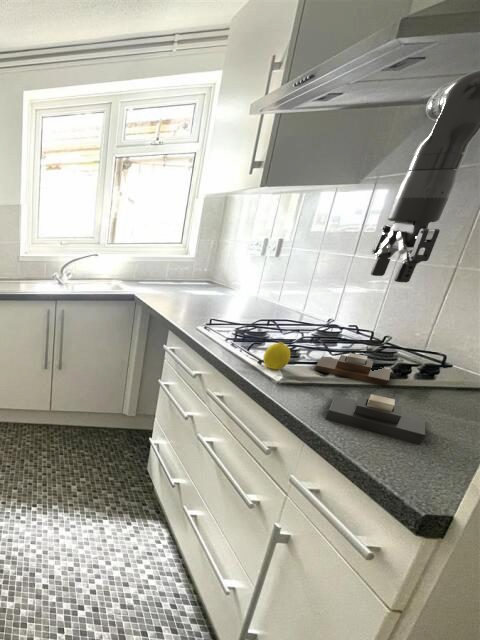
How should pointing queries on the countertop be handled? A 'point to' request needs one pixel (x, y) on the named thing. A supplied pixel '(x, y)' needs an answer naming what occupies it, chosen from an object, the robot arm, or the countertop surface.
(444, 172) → the robot arm
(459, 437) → the countertop surface
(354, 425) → the dark grey stepped block
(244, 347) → the countertop surface
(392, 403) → the ivory key
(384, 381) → the brown stepped block
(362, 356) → the beige square block
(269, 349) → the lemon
